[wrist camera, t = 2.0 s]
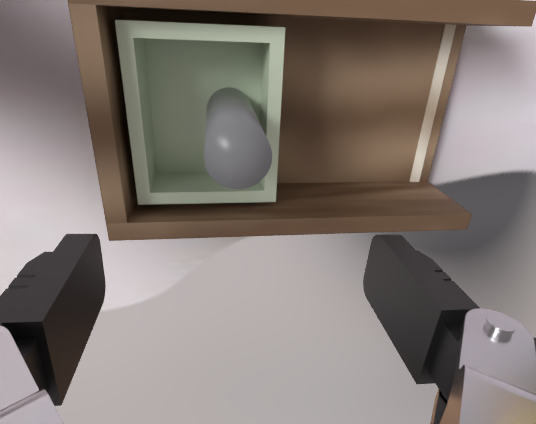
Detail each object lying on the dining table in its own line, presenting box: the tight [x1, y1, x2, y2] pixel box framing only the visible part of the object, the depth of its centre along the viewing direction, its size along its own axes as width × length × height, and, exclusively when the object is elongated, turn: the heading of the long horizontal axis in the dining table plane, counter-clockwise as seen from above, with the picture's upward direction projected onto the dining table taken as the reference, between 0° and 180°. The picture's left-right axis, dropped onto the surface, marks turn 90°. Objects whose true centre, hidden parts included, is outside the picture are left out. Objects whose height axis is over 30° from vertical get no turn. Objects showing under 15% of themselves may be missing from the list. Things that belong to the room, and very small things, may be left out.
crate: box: [115, 20, 285, 205], centre depth 21 cm, size 10×9×11 cm
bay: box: [68, 0, 536, 241], centre depth 25 cm, size 14×24×7 cm, turn 88°
